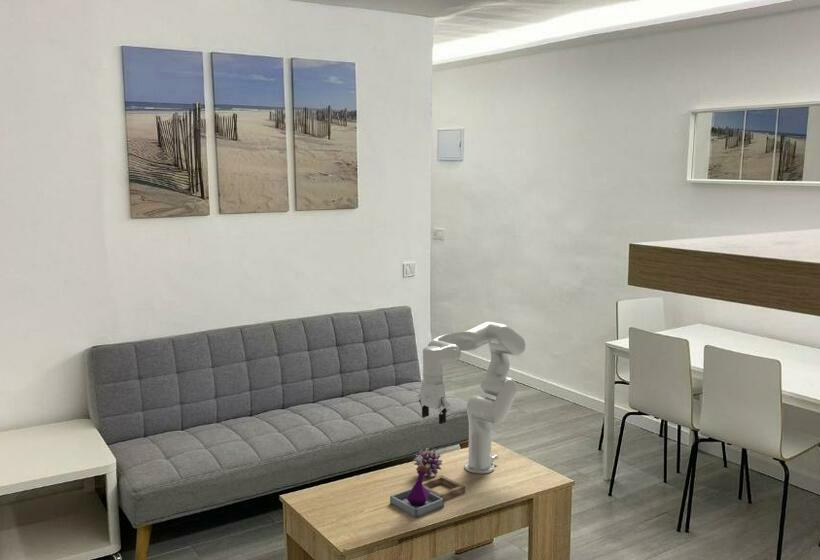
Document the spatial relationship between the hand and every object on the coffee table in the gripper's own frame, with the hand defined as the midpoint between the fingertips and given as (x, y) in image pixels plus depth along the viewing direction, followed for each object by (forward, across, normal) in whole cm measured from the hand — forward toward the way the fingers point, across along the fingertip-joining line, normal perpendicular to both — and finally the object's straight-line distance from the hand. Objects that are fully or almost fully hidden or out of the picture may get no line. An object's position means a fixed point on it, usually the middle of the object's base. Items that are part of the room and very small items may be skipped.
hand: (433, 419), depth 291 cm
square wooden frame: (+28, +4, -1) cm, 29 cm away
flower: (+29, -10, +5) cm, 31 cm away
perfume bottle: (+27, +7, -16) cm, 32 cm away
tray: (+28, +7, -16) cm, 33 cm away
